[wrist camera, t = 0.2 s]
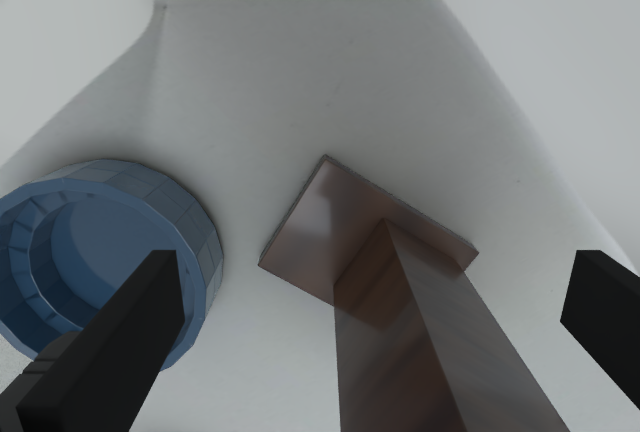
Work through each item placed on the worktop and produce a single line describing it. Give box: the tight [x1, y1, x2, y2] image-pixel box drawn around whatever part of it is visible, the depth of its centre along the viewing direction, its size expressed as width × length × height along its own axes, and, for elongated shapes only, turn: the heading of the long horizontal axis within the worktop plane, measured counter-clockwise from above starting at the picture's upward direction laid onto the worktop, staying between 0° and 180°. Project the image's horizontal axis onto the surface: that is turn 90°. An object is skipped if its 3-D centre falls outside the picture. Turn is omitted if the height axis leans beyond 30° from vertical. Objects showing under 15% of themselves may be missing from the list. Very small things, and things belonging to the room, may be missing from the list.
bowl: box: [0, 159, 223, 371], centre depth 31 cm, size 16×16×6 cm
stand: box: [258, 155, 570, 432], centre depth 20 cm, size 15×10×30 cm, turn 58°
